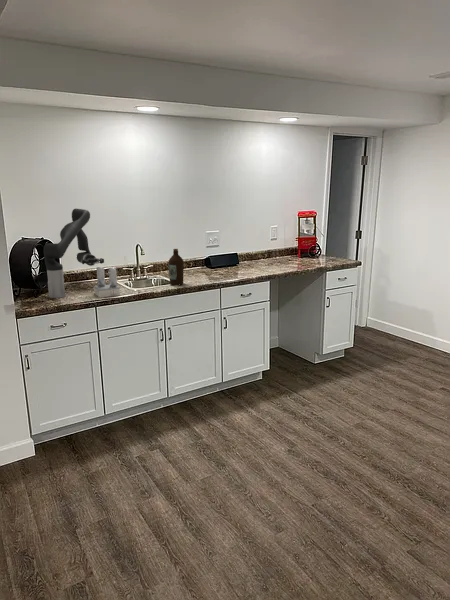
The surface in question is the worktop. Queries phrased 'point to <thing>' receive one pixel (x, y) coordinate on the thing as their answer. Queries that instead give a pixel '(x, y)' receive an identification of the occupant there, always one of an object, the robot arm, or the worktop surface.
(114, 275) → the spacer on scale
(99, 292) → the scale
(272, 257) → the worktop surface
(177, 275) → the olive oil
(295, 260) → the worktop surface
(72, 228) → the robot arm
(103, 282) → the spacer
